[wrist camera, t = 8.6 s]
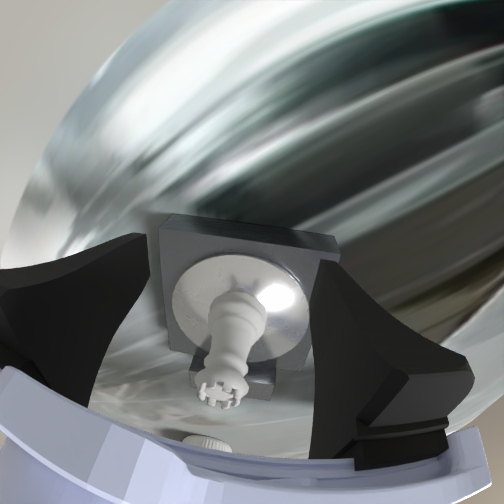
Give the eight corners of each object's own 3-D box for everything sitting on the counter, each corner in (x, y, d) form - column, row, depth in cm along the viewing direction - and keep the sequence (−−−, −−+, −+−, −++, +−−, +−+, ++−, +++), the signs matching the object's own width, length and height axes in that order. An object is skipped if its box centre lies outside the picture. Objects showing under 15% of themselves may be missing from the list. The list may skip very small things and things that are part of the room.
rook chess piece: (266, 287, 19) (254, 378, 12) (269, 332, 21) (260, 418, 14) (206, 287, 20) (170, 371, 13) (215, 330, 22) (191, 411, 15)
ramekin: (228, 456, 46) (224, 476, 42) (178, 442, 46) (172, 462, 41) (242, 442, 41) (238, 465, 36) (183, 426, 41) (176, 449, 36)
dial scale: (294, 368, 29) (293, 405, 24) (181, 350, 29) (168, 383, 25) (334, 236, 21) (345, 269, 16) (173, 213, 22) (146, 239, 17)
